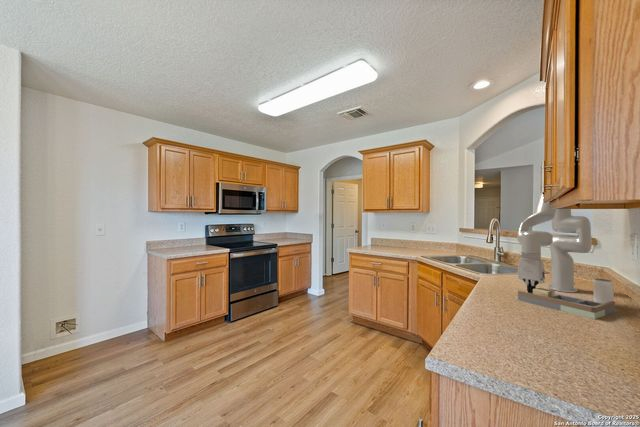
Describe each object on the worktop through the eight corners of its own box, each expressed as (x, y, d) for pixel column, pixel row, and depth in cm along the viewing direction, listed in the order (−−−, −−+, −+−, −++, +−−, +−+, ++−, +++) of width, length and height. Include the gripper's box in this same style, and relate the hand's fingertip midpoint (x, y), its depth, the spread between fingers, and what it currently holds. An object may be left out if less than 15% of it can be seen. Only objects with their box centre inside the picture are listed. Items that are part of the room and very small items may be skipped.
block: (539, 295, 130) (539, 287, 130) (554, 299, 125) (554, 290, 125) (532, 297, 128) (532, 288, 128) (547, 300, 122) (547, 292, 122)
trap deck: (539, 295, 140) (539, 286, 141) (614, 311, 115) (614, 301, 115) (517, 299, 132) (517, 290, 132) (594, 319, 107) (594, 308, 107)
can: (604, 303, 127) (604, 278, 127) (618, 307, 121) (617, 281, 121) (589, 302, 128) (589, 278, 128) (602, 307, 121) (602, 281, 122)
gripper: (510, 254, 137) (510, 290, 136) (544, 259, 123) (545, 298, 123) (518, 254, 140) (519, 288, 140) (553, 258, 126) (553, 296, 126)
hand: (531, 293), depth 131 cm, fingers closed
